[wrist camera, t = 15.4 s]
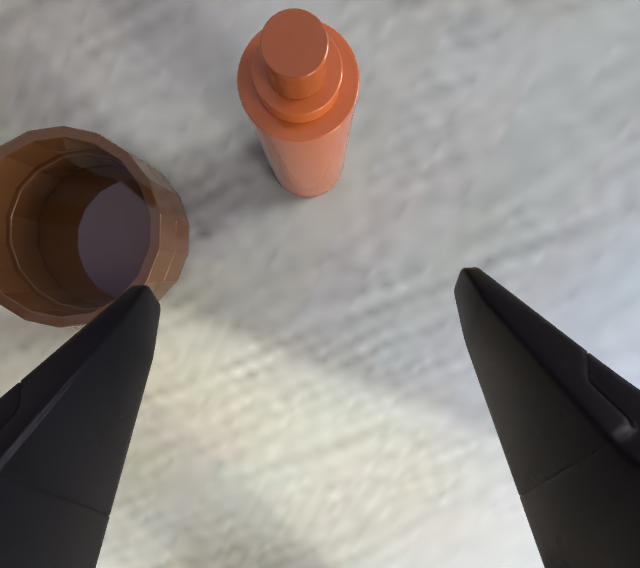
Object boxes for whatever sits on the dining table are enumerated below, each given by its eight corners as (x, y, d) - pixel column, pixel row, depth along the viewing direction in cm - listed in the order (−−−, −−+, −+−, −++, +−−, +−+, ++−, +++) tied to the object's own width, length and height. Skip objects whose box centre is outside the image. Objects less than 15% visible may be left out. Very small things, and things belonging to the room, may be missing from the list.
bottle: (314, 211, 23) (308, 146, 11) (257, 168, 23) (192, 57, 11) (357, 154, 23) (396, 28, 11) (300, 110, 23) (279, -62, 11)
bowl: (175, 331, 23) (140, 345, 19) (18, 297, 23) (-56, 303, 19) (207, 175, 23) (179, 150, 18) (47, 140, 23) (-20, 107, 18)
